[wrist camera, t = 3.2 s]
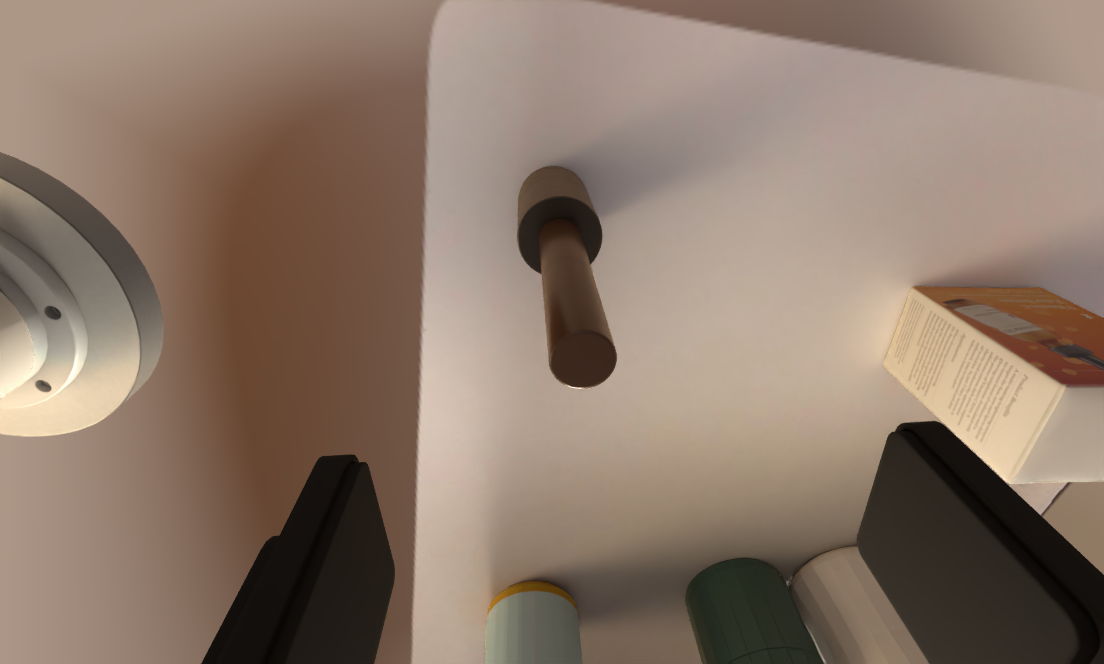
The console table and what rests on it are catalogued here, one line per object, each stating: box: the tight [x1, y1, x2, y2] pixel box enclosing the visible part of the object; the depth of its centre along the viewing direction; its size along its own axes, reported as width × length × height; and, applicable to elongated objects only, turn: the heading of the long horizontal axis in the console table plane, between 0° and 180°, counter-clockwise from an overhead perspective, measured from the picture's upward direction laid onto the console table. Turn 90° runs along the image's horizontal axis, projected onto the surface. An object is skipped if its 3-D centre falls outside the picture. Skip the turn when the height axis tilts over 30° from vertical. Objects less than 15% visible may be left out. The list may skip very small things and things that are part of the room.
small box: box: [884, 286, 1104, 484], centre depth 29 cm, size 8×6×10 cm
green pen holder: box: [685, 558, 824, 664], centre depth 40 cm, size 8×8×9 cm
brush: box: [517, 166, 617, 389], centre depth 22 cm, size 4×4×16 cm
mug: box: [788, 546, 929, 664], centre depth 40 cm, size 12×9×10 cm
